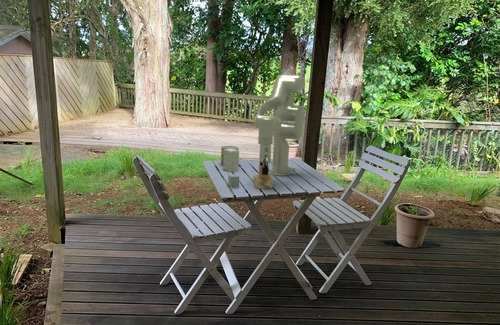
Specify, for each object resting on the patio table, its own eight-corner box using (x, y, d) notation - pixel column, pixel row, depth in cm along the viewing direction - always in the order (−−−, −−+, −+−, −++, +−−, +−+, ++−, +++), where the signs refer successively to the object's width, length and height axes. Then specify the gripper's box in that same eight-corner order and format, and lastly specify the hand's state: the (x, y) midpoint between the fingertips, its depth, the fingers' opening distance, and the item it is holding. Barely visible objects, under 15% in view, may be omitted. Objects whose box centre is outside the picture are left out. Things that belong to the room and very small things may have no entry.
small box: (238, 171, 233) (239, 150, 230) (230, 172, 229) (231, 151, 226) (230, 168, 239) (231, 148, 236) (222, 169, 235) (223, 149, 232)
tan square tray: (269, 184, 207) (270, 175, 206) (272, 188, 198) (272, 179, 197) (253, 183, 206) (253, 174, 205) (255, 188, 197) (256, 179, 196)
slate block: (235, 185, 202) (236, 174, 201) (238, 187, 198) (239, 176, 196) (228, 185, 200) (228, 174, 199) (230, 188, 196) (231, 176, 195)
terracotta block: (266, 176, 203) (267, 165, 202) (268, 178, 199) (268, 167, 198) (258, 176, 203) (259, 165, 201) (259, 178, 198) (260, 167, 197)
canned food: (219, 163, 252) (220, 145, 249) (236, 163, 254) (236, 145, 252) (222, 167, 241) (222, 148, 238) (239, 167, 243) (240, 149, 241)
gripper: (275, 144, 189) (273, 176, 192) (269, 138, 205) (267, 168, 209) (260, 143, 188) (258, 176, 191) (256, 138, 204) (254, 168, 208)
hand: (263, 172), depth 200 cm, fingers open, 9 cm apart
